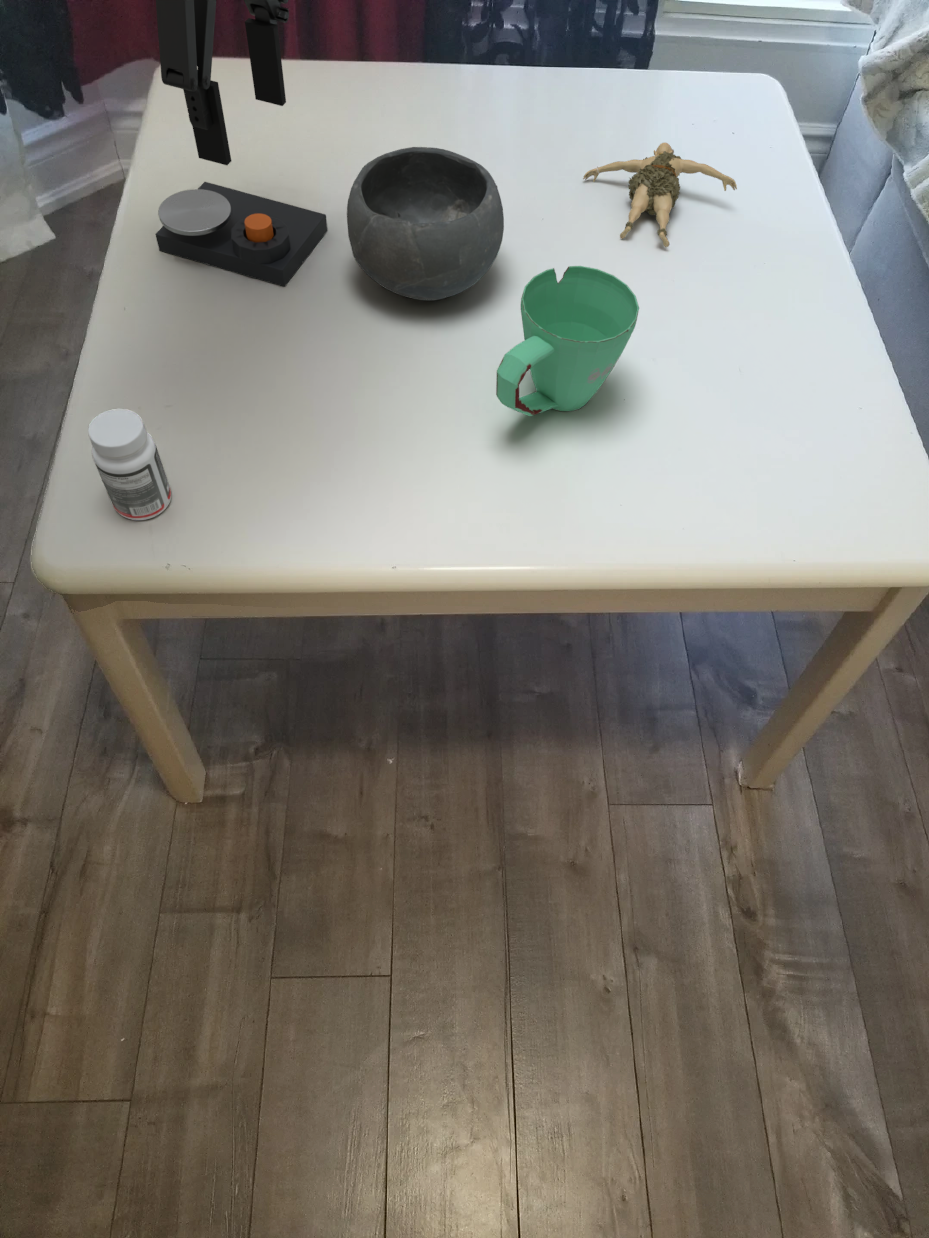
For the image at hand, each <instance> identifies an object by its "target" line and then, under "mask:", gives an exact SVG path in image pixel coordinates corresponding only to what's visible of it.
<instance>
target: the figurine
mask: <svg viewBox="0 0 929 1238" xmlns="http://www.w3.org/2000/svg"><path fill="white" fill-rule="evenodd" d="M674 153H675V149H673V147H671V145H670V144H669V143H668V142H661V143H660V144H659V145H658V147H656V149H653V156H649V157H648V156H646V157H645V158H643V159H630V160H626V161H621V160H620V161H614V162H610V163H608V164H605V165H602V166H596V168H592V169H590V170H588V171H586V172H585V174H584V175H583V178H582V180H585V181H586V180H588V179H589V178H590V177H593V179H592V183H595V182H596V181H597V178H598V177H599V174H602V173H608V172H619V171H624V172H627V173H631V174H633V173H635V174H633V175H632V176H631V177H629V180H628V181H627V184H628V190H629V191H628V196H629V199H630V201H631V203H630V207H631V209H630V210H629V212H628V221H627V222H626V223H625V227H624V230H623V231H621V233H619V238H620V239H621V240H623V239H625V238H626V236H627V234H629V232H630V231H632V230H633V227H634V222H636V221H637V220H638V219H640V217H641V216H642V213H644V212H646V213H648V214H649V215H650V216H655V219H656V222H657V223H658V225H659V229H658V230H657V236H658V237H659V238H660V239H661V241H662V244H663V246H664V247H665V248H669V246H670V241H669V240H668V238H667V236H668V230H667V229H666V228H667V226H668V223H669V221H670V213H671V210H672V209H674V208H675V207H676V201H678V199H679V195H680V191H681V186H680V178H679V176H680V174H682V173H684V174H690V175H691V174H697V173H701V174H703V175H705V176H707V177H708V176H709V177H712V178H714V179H717V180H719V181H721V183H722V187H723V191H724V192H726V191H727V186H730V187H731V188H732V190H733V191H736V190H738V187H737V186H738V185H737V183H736V181H735V179H734V178H733V177H731V176H728V175H727V174H723V173H722V172H720V171H718V170H717V169H716V168H714V167H712V166H710V165H709V164H707V163H701V162H700V163H699V162H697V161H694V160H692V159H683V158H682V157H681V155H676V154H674Z"/></svg>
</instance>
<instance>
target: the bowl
mask: <svg viewBox="0 0 929 1238" xmlns="http://www.w3.org/2000/svg"><path fill="white" fill-rule="evenodd" d="M346 222H347V223H346V224H347V235H348V239H349V244H350V249H351V251H352V252H351V253H352V255H353V258H354V260H355V261H356V263H357V264H358V265H359V267H360V268H361V269H362V271H363V272H364V273H365V274H366V275H367V276H369V277H370V278H371V280H373V281H374V282H376V283H377V284H379V285H380V286H381V287H383V288H385V289H386V290H388V291H391V292H392V293H395V294H397V295H399V296H402V297H405V298H410V299H413V300H417V301H418V300H419V301H438V300H443V299H445V298H449V297H453V296H455V295H458V294H460V293H462V292H464V291H466V290H468V289H469V288H471V287H472V286H474V285H475V284H476V283H477V282H479V281H480V280H481V278H483V276H485V274H487V272H488V271H489V269H491V267H492V265H493V263H494V262H495V260H496V258H497V257H498V254H499V251H500V249H501V246H502V242H503V238H504V230H505V219H504V207H503V203H502V198H501V195H500V192H499V188H498V186H497V183H496V181H495V180H494V178H493V175H492V174H491V173H490V172H489V171H488V169H486V168H485V167H484V166H483V165H482V164H480V163H478V162H476V161H475V160H473V159H470V158H469V157H467V156H464V155H461V154H459V153H456V152H454V151H451V150H448V149H444V148H438V147H428V146H410V147H404V148H400V149H396V150H393V151H389V152H386V153H383V154H381V155H379V156H377V157H375V158H373V159H372V160H370V161H368V162H367V163H366V164H365V165H364V166H363V167H362V168H361V170H360V171H359V172H358V174H357V175H356V178H355V179H354V181H353V184H352V186H351V187H350V191H349V195H348V199H347V204H346Z"/></svg>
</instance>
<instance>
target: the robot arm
mask: <svg viewBox="0 0 929 1238" xmlns="http://www.w3.org/2000/svg"><path fill="white" fill-rule="evenodd" d="M243 2H244V4H245V6H246V8H247V10H248V12H249V15H251V16H253V17H254V18H252V17H248V18H247V19H246V20H245V21H244V26H245V34H246V40H247V49H248V55H249V63H250V69H251V77H252V85H253V91H254V96H255V100H256V101H260V102H264V103H268V104H271V105H272V104H273V105H276V106H280V107H283V106H285V104H286V103H287V99H286V98H287V97H286V89H285V80H284V71H283V63H282V61H283V60H282V52H281V45H280V44H281V43H280V37H279V27H278V22H280V23H283V24H287V23H288V21H289V17H290V10H289V8H288V7H284V6H281V5H282V4H284V5H286V4H288V3H289V0H243ZM155 8H156V9H155V10H156V23H157V24H156V25H157V38H158V50H159V52H158V53H159V63H160V65H159V66H160V78H161V81H162V84H164V85H166V86H169V87H174V88H177V89H181V90H182V91H183V95H184V99H185V105H186V109H187V113H188V119H189V123H190V125H191V126H192V127H191V128H192V131H193V137H194V141H195V146H196V151H197V156H198V159H201V160H204V161H208V162H213V163H216V164H219V165H224V166H228V165H229V164H230V163H231V162H232V156H231V155H232V154H231V151H230V150H231V149H230V143H229V138H228V132H227V127H226V126H227V125H226V121H225V116H224V109H223V103H222V99H221V91H220V85H219V82H218V81H215V80H212V67H213V55H214V54H213V53H214V38H215V36H214V35H215V24H216V8H217V0H155Z"/></svg>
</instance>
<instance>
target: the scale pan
mask: <svg viewBox="0 0 929 1238" xmlns="http://www.w3.org/2000/svg"><path fill="white" fill-rule="evenodd" d="M157 211H158V212H157V215H158V218H159V221H160V224H161V225H162V226H164V227H165V228H167V229H168V230H170V231H172V232H174V233H177V234H181V235H188V236H197V235H205V234H209V233H212V232H215V231H217V230H219V229H221V228H222V227H224V226H225V225H226V224H227V223H228V221H229V220H230V218H231V214H232V211H231V206H230V203H229V201H228V200H227V199H226V198H225V197H224V196H222V195H221V194H219V193H216V192H213V191H210V190H203V189H198V188H193V189H187V190H182V191H181V190H180V191H178V192H176V193H173V194H171V195H169V196H168V197H166V198H165V199H164V200H163V201H162V202H161V204H159V207H158V209H157Z"/></svg>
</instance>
